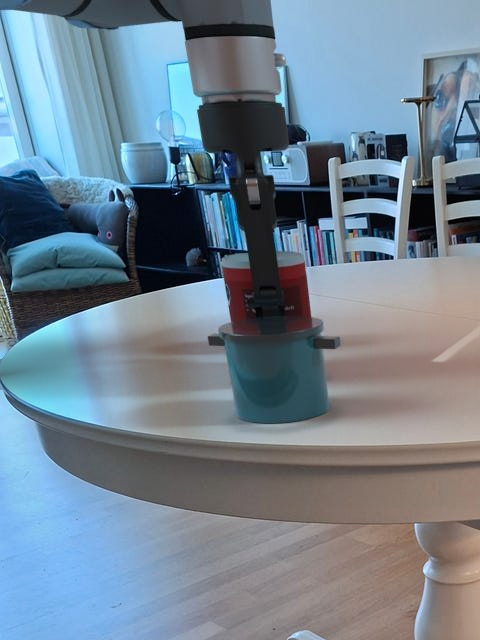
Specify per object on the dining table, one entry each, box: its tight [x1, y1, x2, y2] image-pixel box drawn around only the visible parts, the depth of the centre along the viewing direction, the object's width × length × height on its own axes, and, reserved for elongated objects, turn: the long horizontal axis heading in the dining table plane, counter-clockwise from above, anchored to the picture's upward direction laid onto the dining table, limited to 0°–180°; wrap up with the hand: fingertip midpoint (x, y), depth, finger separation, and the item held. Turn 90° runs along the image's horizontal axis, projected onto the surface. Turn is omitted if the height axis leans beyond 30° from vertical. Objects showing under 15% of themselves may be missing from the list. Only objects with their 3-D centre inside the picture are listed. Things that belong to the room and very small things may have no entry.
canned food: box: [221, 250, 312, 322], centre depth 85 cm, size 8×8×11 cm
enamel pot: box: [207, 316, 342, 424], centre depth 74 cm, size 9×12×7 cm
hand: (278, 367), depth 87 cm, fingers closed on canned food, 8 cm apart
